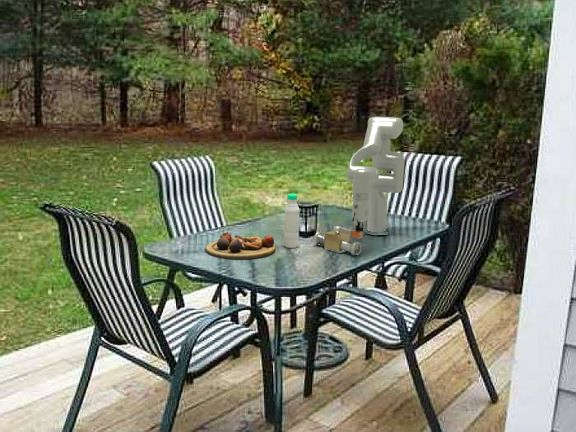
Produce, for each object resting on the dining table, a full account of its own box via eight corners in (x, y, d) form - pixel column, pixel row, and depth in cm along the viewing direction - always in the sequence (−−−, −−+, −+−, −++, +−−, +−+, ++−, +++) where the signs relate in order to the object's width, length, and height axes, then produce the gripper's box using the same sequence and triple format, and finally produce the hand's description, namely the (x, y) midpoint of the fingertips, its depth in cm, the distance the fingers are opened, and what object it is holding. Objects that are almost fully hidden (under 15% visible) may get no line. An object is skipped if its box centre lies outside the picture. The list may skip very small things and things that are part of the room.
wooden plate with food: (283, 245, 297) (283, 228, 295) (264, 262, 266) (264, 244, 265) (220, 240, 304) (220, 224, 303) (194, 257, 274) (194, 239, 272)
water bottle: (280, 247, 292) (282, 194, 286) (287, 243, 298) (289, 192, 292) (294, 249, 289) (295, 196, 283) (301, 245, 295) (302, 193, 289)
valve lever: (363, 237, 278) (363, 231, 278) (358, 238, 276) (358, 232, 275) (337, 230, 290) (337, 225, 289) (331, 232, 287) (332, 226, 286)
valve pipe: (322, 243, 300) (323, 226, 298) (361, 254, 283) (362, 236, 281) (312, 246, 295) (313, 228, 293) (351, 257, 278) (352, 238, 276)
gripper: (361, 199, 272) (359, 240, 276) (375, 194, 285) (373, 233, 289) (346, 197, 276) (344, 238, 280) (360, 193, 288) (358, 231, 292)
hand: (358, 235), depth 284 cm, fingers closed
